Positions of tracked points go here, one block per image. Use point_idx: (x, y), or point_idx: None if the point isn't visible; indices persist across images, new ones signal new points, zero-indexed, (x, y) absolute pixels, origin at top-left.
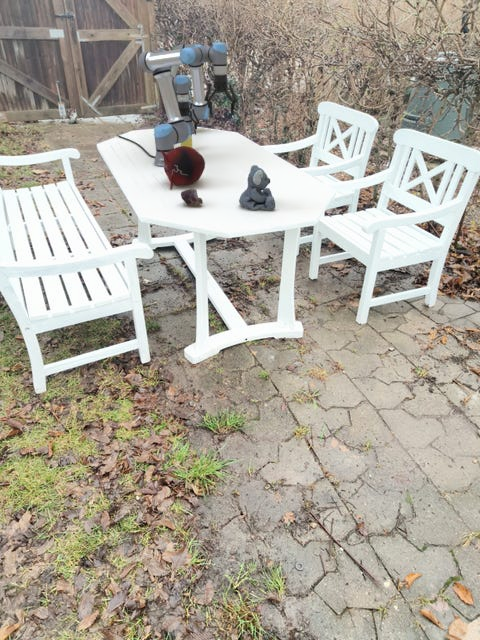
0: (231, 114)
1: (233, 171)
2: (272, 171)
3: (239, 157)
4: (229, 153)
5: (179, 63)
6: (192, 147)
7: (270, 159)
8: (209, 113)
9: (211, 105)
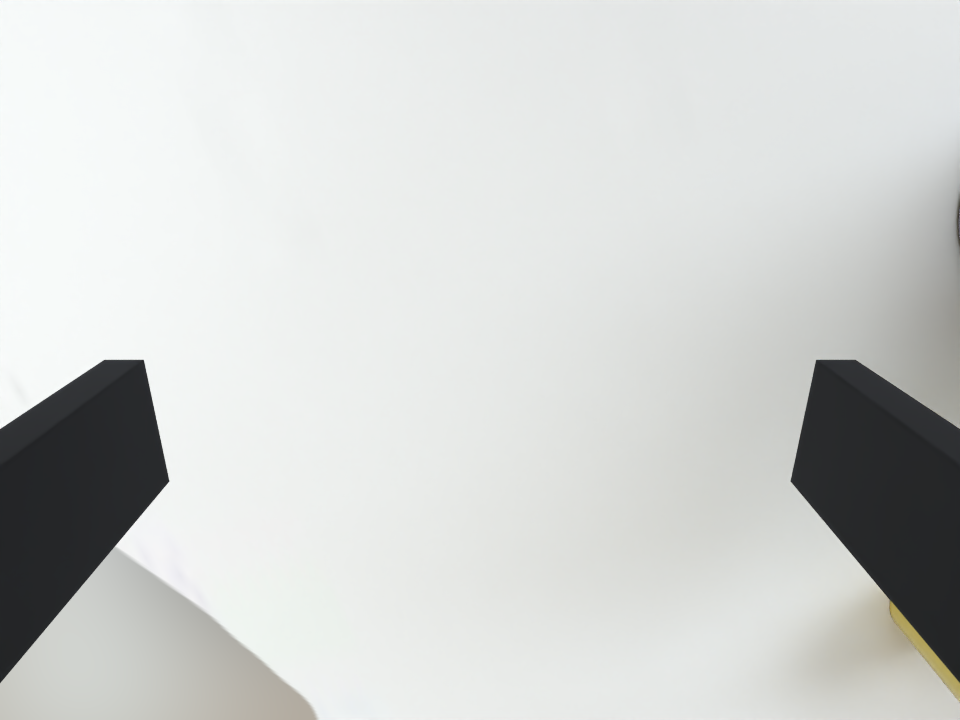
0: (106, 371)
1: (344, 127)
2: (7, 235)
3: (453, 542)
4: (569, 618)
5: None
6: (907, 631)
7: (192, 552)
8: (869, 372)
9: (958, 624)
